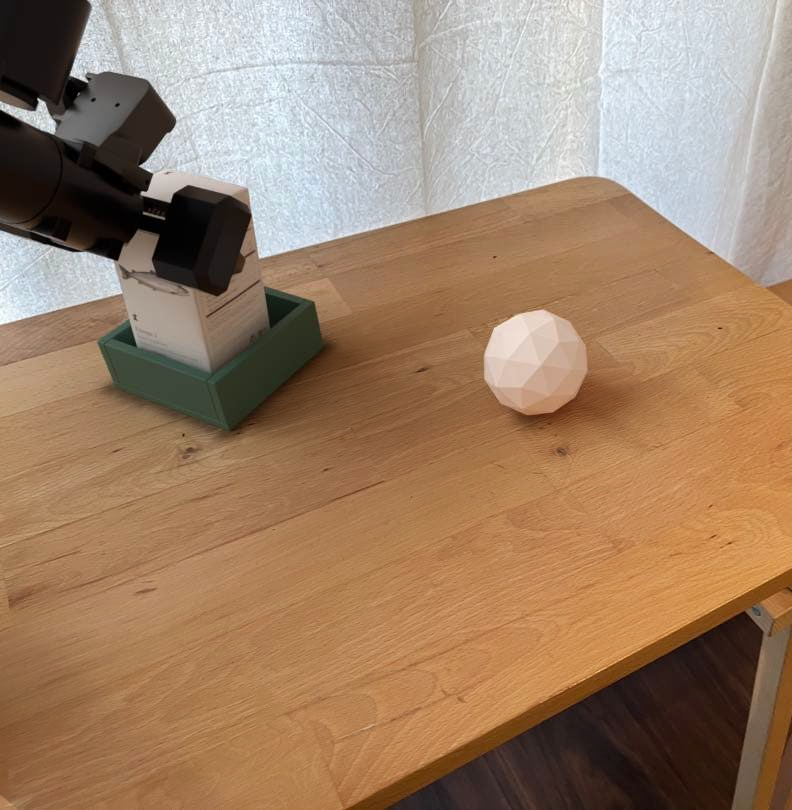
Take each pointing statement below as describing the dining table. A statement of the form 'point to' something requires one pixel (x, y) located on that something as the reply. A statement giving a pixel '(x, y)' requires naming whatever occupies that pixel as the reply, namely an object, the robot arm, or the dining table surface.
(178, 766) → the dining table surface
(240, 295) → the white packaging box
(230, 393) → the bin
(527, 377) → the geometric ball
